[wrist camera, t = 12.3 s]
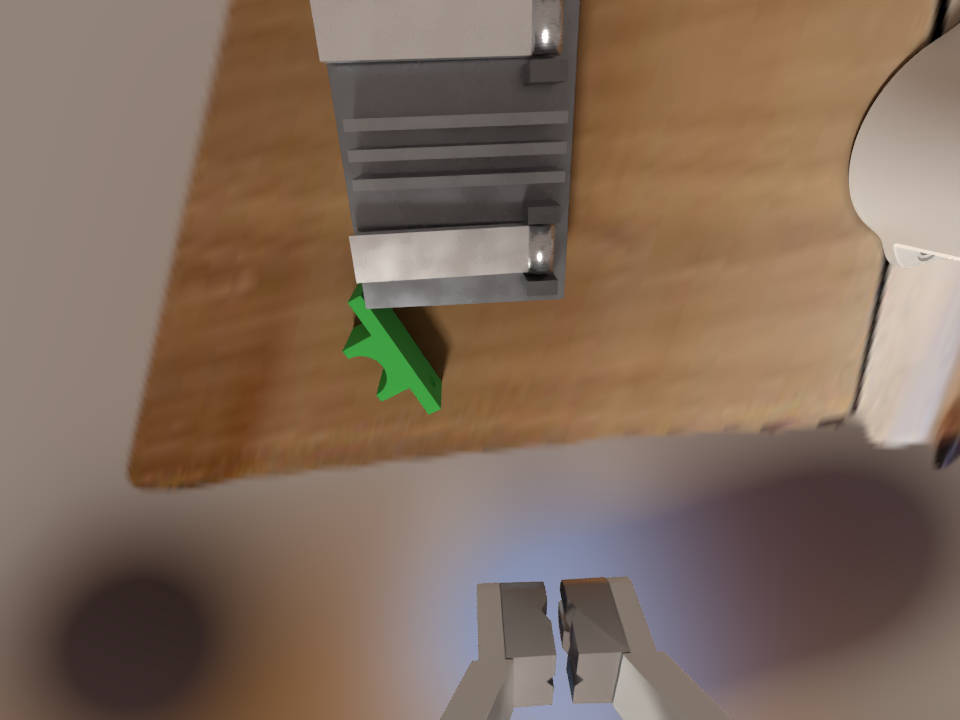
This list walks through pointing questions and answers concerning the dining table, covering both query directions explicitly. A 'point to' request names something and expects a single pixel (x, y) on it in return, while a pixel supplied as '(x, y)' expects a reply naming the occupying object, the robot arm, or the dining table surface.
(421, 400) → the pipe clamp
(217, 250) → the dining table surface
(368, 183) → the heatsink block
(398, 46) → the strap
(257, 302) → the dining table surface
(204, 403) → the dining table surface
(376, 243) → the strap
